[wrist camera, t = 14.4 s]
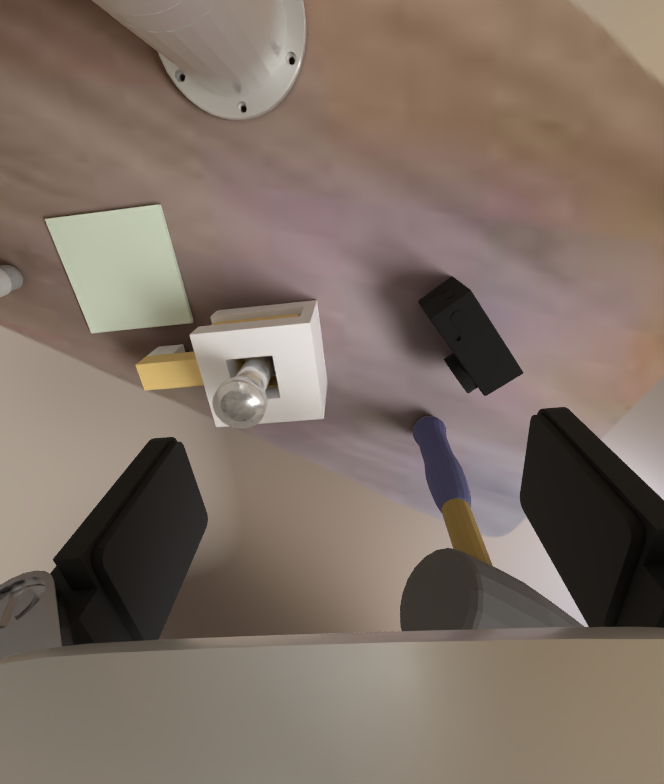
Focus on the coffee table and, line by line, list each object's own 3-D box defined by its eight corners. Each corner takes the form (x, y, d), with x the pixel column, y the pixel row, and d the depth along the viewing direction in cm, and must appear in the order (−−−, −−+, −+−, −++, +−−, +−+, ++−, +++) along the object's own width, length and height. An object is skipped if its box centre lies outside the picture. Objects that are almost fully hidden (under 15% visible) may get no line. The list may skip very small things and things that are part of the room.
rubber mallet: (369, 418, 48) (397, 693, 22) (409, 375, 45) (497, 630, 19) (442, 467, 51) (545, 760, 25) (483, 429, 48) (651, 715, 22)
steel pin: (246, 331, 44) (206, 384, 31) (284, 328, 43) (259, 380, 31) (254, 367, 46) (219, 430, 33) (290, 363, 45) (269, 426, 33)
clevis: (148, 317, 43) (106, 342, 36) (316, 300, 42) (310, 322, 34) (174, 395, 48) (142, 432, 40) (327, 382, 46) (323, 418, 39)
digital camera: (407, 307, 42) (418, 326, 36) (451, 275, 40) (470, 289, 34) (457, 375, 45) (474, 403, 39) (499, 348, 44) (524, 373, 37)
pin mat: (48, 218, 39) (44, 219, 39) (160, 204, 38) (158, 204, 38) (93, 331, 44) (91, 333, 44) (193, 321, 43) (192, 322, 43)
